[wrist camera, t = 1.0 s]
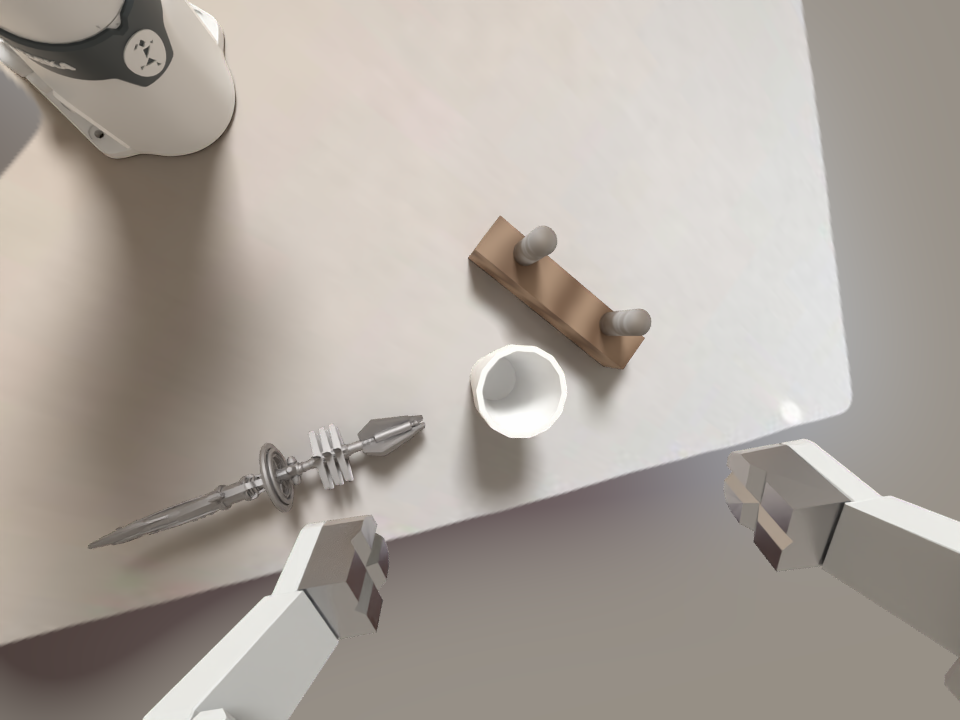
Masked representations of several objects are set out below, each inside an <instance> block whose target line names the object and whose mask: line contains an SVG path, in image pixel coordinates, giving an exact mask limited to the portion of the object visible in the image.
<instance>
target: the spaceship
mask: <svg viewBox="0 0 960 720" xmlns="http://www.w3.org/2000/svg"><path fill="white" fill-rule="evenodd" d="M422 420H423V417H422V415H419V416H399V417H390V418H382V419H373V420H370V422H369V423H368V424H367V425H366V426H365V427H364V428H363V429H362V430H361V431H360V432H359V433H358V437H359V439H360V440H359V441H356V442H354V443H351V444H348V445H344V443H343V440H342V438H341V435H340V433H339V430H338V427H335V426H334V424H330V425H329V430H330V434H331V437H330V434H329V432H328V430H326V431H325V430H324V427H322V428H319V433H320V437H319V434H318V433H317V434H315V433H314V431H311V432H309V438H310V443H311V448H312V453H313V456H312V457H311V459H310V460H308V461H306V462H301V463H300V464H299V463H297V461H296V459H295V458H294V457H293V456H292V457H289V458H288V459H287V463H286V460H285V458H284V457H283V455H282V454H281V452H280V451H279V450H278V449H277V448H276V447H275V446H274V445H273V444H270V443H266V444H264V445H263V446H262V447H261V450H260V456H259V461H260V473H261V474H259V475H255V476H254V475H253V474H251V475H246V476H243V477H242V478H241V479H240V480H239V482H237V483H234V484H231V485H229V486H226V485H219V486H218V487H217V488H216V489H215V491H213V492H210V493H208V494H205V495H203V496H199V497H197V498H194V499H191V500H188V501H185V502H182V503H179V504H176V505H174V506H171V507H168V508H166V509H163V510H161V511H158V512H156V513H154V514H151V515H149V516H147V517H145V518H142V519H140V520H136V521H134V522H133V523H131V524H128V525H126V526H125V527H119V528H117V530H116V531H114V532H112V533H110V534H108V535H106V536H104V537H102V538H100V539H99V540H96V541H94V542H92V543H90V544H89V545H88V548H89V549H92V548H97V547H102V546H106V545H116V544H122V543H125V542H128V541H131V540H134V539H136V538H139V537H141V536H142V535H145V534H148V533H151V532H153V533H151V534H154V533H157V532H159V531H160V530H161V531H162V530H166V529H170V528H173V527H176V526H180V525H182V524H185V523H188V522H191V521H194V520H195V521H197V520H198V519H199V518H205V517H206V516H207V515H209V514H210V515H212V514H214V513H215V512H217V511H219V510H227V509H229V508H230V507H231V506H232V504H234V503H237V502H240V501H242V500H246V501H251V500H253V499H255V498H257V497H258V496H259V494H260V493H262V492H264V491H266V492H267V494H268V496H269V497H270V499H271V501H272V503H273V504H274V505H275V507H276V508H277V509H278V510H279V511H281V512H288V511H289V510H290V509H291V507H292V504H293V497H294V487H293V484H294V485H298V484H300V483H301V476H300V475H301V474H302V472H306V471H307V470H310V469H314V468H317V470H318V472H319V475H320V478H321V480H322V483H323V486H324V488H325V489H328V488H329V490H330V489H333V488H334V484H333V480H334V483H335V485H338V484H339V486H340V485H342V484H344V481H343V477H342V473H343V476H344V478H345V481H349V482H350V481H352V480H354V479H353V475H352V471H351V466H350V462H349V458H348V457H349V456H351V454H353V453H355V452H358V451H361V450H363V453H366V455H376V456H386V455H387V454H389V453H390V452H392V451H393V450H395V449H396V448H398V447H399V446H401V445H402V444H404V443H405V442H406V441H408V440H409V439H411V438H412V437H414V435H415V434H416V433H418V432H419V431H421V430H422V429H423V428H425V423H419V422H421V421H422ZM320 438H321V439H320ZM331 438H332V440H331ZM267 451H268V452H267ZM341 470H342V473H341ZM259 477H260V478H259ZM332 478H333V480H332ZM263 488H264V489H263ZM151 534H149V535H151ZM89 546H90V547H89Z"/></svg>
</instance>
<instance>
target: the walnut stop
mask: <svg viewBox="0 0 960 720" xmlns="http://www.w3.org/2000/svg"><path fill="white" fill-rule="evenodd" d="M556 245H557V237H556V234H555V232H554V231H553V230H552V229H551V228H549V227H547V226H539V227H537V228H535V229H534V230H533V231H531V232H530V233H529V234H528V235H527V236H524V235H523V234H521V233H520V232H519V231H518V230H517V229H516V228H514V227H513V226H512V225H511V224H510V223H508V222H507V221H506V220H505V219H504V218H503V217H501V216H499V218H498V219H497V220H496V221H495V223H494V224H493V225H492V227H491V228H490V229H489V231H488V232H487V233H486V235H485V236H484V237H483V239H482V240H481V241H480V243H479V244H478V245H477V247H476V248H475V249H474V251H473V252H472V253H471V255H470V256H469V257H468V258H469V259H470V260H471V261H472V262H474V263H475V264H476V265H477V266H479V267H480V268H481V269H482V270H484V271H485V272H486V273H487V274H489V275H490V276H491V277H492V278H494V279H495V280H496V281H497V282H499V283H500V284H501V285H502V286H504V287H505V288H506V289H507V290H509V291H510V292H511V293H512V294H514V295H515V296H516V297H517V298H519V299H520V300H521V301H522V302H524V303H525V304H526V305H527V306H529V307H530V308H531V309H532V310H534V311H535V312H536V313H537V314H539V315H540V316H541V317H542V318H544V319H545V320H546V321H547V322H549V323H550V324H551V325H552V326H553V327H555V328H556V329H557V330H558V331H560V332H561V333H562V334H563V335H565V336H566V337H567V338H568V339H570V340H571V341H572V342H573V343H575V344H576V345H577V346H578V347H580V348H581V349H582V350H583V351H585V352H586V353H587V354H588V355H590V356H591V357H592V358H593V359H595V360H596V361H597V362H598V363H600V364H601V365H602V366H604V367H611V368H617V369H624V367H625V366H626V364H627V363H628V362H629V360H630V359H631V357H632V356H633V354H634V353H635V352H636V350H637V349H638V347H639V346H640V344H641V343H642V341H643V340H644V339H645V338H644V337H643V336H642V335H644V334H646V333H647V332H648V331H649V329H650V326H651V318H650V315H649V314H648V312H647V311H645V310H643V309H632V310H623V311H615V312H613V311H612V310H611V309H610V308H609V307H608V306H606V305H605V304H604V303H603V302H602V301H601V300H599V299H598V298H597V297H596V296H595V295H593V294H592V293H591V292H590V291H589V290H588V289H586V288H585V287H584V286H583V285H582V284H580V283H579V282H578V281H577V280H576V279H575V278H573V277H572V276H571V275H570V274H569V273H567V272H566V271H565V270H564V269H563V268H562V267H560V266H559V265H558V264H557V263H556V262H554V261H553V260H552V259H551V258H550V257H549V256H547V255H549V254H551V253H552V252H553V251H554V250H555V248H556Z"/></svg>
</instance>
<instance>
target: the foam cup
mask: <svg viewBox="0 0 960 720" xmlns="http://www.w3.org/2000/svg"><path fill="white" fill-rule="evenodd" d="M470 381H471V387H472V391H473V397H474V403H475V408H476V409H477V410H478V412H479V413H480V414H481V416H482V417H483V419H484V420H485V421H486V423H487V424H488V425H489V426H490V427H491V428H492V429H494V430H496V431H497V432H499V433H501V434H503V435H505V436H507V437H509V438H531V437H533V436H535V435H537V434H539V433H541V432H543V431H546V430H548V429H549V428H550V427H551V425H552V424H553V423H554V422H555V421H556V419H557V418H558V417H559V416H560V415H561V414H562V410H563V407H564V403H565V400H566V397H567V387H566V380H565V373H564V372H563V370H562V369H561V367H560V366H559V364H558V363H557V361H556V360H555V358H554V357H553V356H552V355H550V354H548V353H547V352H545V351H543V350H542V349H540V348H538V347H536V346H527V345H507V346H505V347H502V348H500V349H498V350H495V351H493V352H491V353H490V354H489V355H486V356H484V357H482V358H480V359H479V360H478V361H477V362H476V363H475V365H474V366H473V368H472V371H471V375H470Z"/></svg>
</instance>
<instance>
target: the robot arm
mask: <svg viewBox="0 0 960 720" xmlns="http://www.w3.org/2000/svg"><path fill="white" fill-rule="evenodd" d="M223 52H224V35H223V30H222V27H221V26H220V24H219V23H218V22H217V20H216V19H215V18H214V17H213V16H212V15H210V14H209V13H207V12H205V11H203V10H202V9H200V8H198V7H197V6H195V5H193V4H191V3H190V2H188V1H187V0H0V61H1V62H2V63H4V64H5V65H6V66H7V67H9V68H10V69H11V70H13V71H14V72H15V73H17V74H18V75H20V76H22V77H24V76H25V77H26V78H27V79H28V80H29V81H30V82H31V83H32V84H33V85H34V86H35V87H36V88H37V89H38V90H39V91H40V92H41V93H42V94H43V95H44V96H45V97H46V98H47V99H48V100H49V101H50V102H51V103H52V104H53V105H54V106H55V107H56V108H57V109H58V110H59V111H60V112H61V113H62V114H63V115H64V116H65V117H66V118H67V119H68V120H69V121H70V122H71V123H72V124H73V125H74V126H75V127H76V128H77V129H78V130H79V131H80V132H81V133H82V134H83V135H84V136H85V137H86V138H87V139H88V140H89V141H90V142H91V143H92V144H93V145H94V146H95V147H96V148H97V149H99V150H100V151H101V152H102V153H104V154H105V155H106V156H108V157H110V158H115V159H119V158H125V157H130V156H134V155H137V154H154V155H162V156H180V155H186V154H191V153H194V152H197V151H199V150H202V149H204V148H205V147H207V146H209V145H210V144H212V143H213V142H214V141H216V140H217V139H218V138H219V137H220V136H221V135H222V133H223V132H224V131H225V129H226V128H227V126H228V124H229V122H230V120H231V118H232V114H233V111H234V105H235V89H234V83H233V79H232V76H231V73H230V71H229V68H228V66H227V63H226V61H225V58H224V53H223ZM102 133H104V136H103V138H100V135H101V134H102ZM727 466H728V468H729V469H730V470H731V471H732V472H731V474H730V475H729V476H728V477H727V478H726V479H725V480H724V495H725V499H726V502H727V505H728V507H729V509H730V510H731V512H732V514H733V515H734V517H735V518H736V519H737V521H738V522H739V523H740V524H741V525H743V526H745V527H747V528H749V529H750V530H752V531H754V543H755V545H756V546H757V547H758V548H759V550H760V551H761V552H762V554H763V555H764V556H765V557H766V559H767V560H768V561H769V563H770V564H771V565H772V567H773V568H774V569H775V570H776V571H777V572H778V571H787V570H794V569H802V568H811V567H818V566H822V569H823V570H825V571H826V572H828V573H829V574H831V575H832V576H834V577H835V578H837V579H838V580H840V581H842V582H843V583H845V584H846V585H848V586H849V587H851V588H852V589H854V590H856V591H857V592H859V593H860V594H862V595H863V596H865V597H866V598H868V599H869V600H871V601H873V602H874V603H876V604H877V605H879V606H880V607H882V608H883V609H885V610H887V611H888V612H890V613H891V614H893V615H894V616H896V617H897V618H899V619H901V620H902V621H904V622H905V623H907V624H908V625H910V626H911V627H913V628H915V629H916V630H918V631H919V632H921V633H922V634H924V635H925V636H927V637H929V638H930V639H932V640H933V641H935V642H936V643H938V644H939V645H941V646H943V647H944V648H946V649H947V650H949V651H950V652H952V653H953V654H955V655H956V656H958V659H957V660H956V661H955V662H954V664H953V665H952V666H951V668H950V669H949V670H948V672H947V673H946V674H945V682H944V684H945V686H946V687H947V688H948V689H949V690H950V691H951V693H952V694H953V695H954V696H955V697H956V698H957V699H958V700H959V701H960V522H958V521H956V520H953V519H951V518H948V517H945V516H943V515H940V514H938V513H935V512H932V511H930V510H927V509H925V508H922V507H919V506H917V505H914V504H911V503H909V502H906V501H904V500H901V499H898V498H896V497H893V496H886V497H882V496H881V495H879V494H878V493H877V492H876V491H874V490H873V489H872V488H871V487H869V486H868V485H867V484H866V483H864V482H863V481H862V480H861V479H859V478H858V477H857V476H856V475H854V474H853V473H852V472H851V471H849V470H848V469H847V468H845V467H844V466H843V465H842V464H840V463H839V462H838V461H836V460H835V459H834V458H833V457H832V456H830V455H829V454H828V453H827V452H825V451H824V450H823V449H822V448H820V447H819V446H818V445H817V444H815V443H814V442H812V441H809V440H807V439H801V440H795V441H790V442H784V443H779V444H772V445H767V446H761V447H756V448H750V449H744V450H739V451H734V452H731V453H730V455H729V456H728V459H727ZM376 528H377V523H376V521H375V520H374V518H373V516H372V515H364V516H357V517H350V518H343V519H336V520H329V521H324V522H318V523H311V524H307V525H306V526H305V527H304V528H303V529H302V530H301V531H300V533H299V535H298V538H297V540H296V542H295V544H294V546H293V549H292V551H291V553H290V555H289V558H288V560H287V562H286V564H285V566H284V569H283V571H282V573H281V575H280V578H279V580H278V582H277V584H276V586H275V588H274V591H273V593H272V595H270V596H265V597H264V598H263V599H262V600H261V601H260V602H259V603H258V604H257V605H256V606H255V607H254V608H253V609H252V610H251V611H250V612H249V613H248V614H247V615H246V616H245V617H244V618H243V619H242V620H241V621H240V622H239V623H238V624H237V625H236V626H235V627H234V628H233V629H232V630H231V631H230V632H229V633H228V634H227V635H226V636H225V637H224V638H223V639H222V640H221V641H220V642H219V643H218V644H217V645H216V646H215V647H214V648H213V649H212V650H211V651H210V652H209V653H208V654H207V655H206V656H205V657H204V658H203V659H202V660H201V661H200V662H199V663H198V664H197V665H196V666H195V667H194V668H193V669H192V670H191V671H190V672H189V673H188V674H187V675H185V677H183V679H182V680H180V682H178V683H177V684H176V686H174V688H172V689H171V690H170V691H169V693H167V694H166V695H165V696H164V697H163V698H162V699H161V701H159V703H158V704H156V705H155V707H153V708H152V709H151V710H150V711H149V712H148V713H147V714H146V715H145V716H144V718H143V720H288V719H289V718H290V716H291V714H292V713H293V711H294V710H295V708H296V707H297V705H298V704H299V702H300V701H301V699H302V698H303V696H304V695H305V693H306V691H307V690H308V689H309V687H310V686H311V684H312V683H313V681H314V679H315V678H316V676H317V675H318V673H319V672H320V670H321V669H322V667H323V665H324V664H325V663H326V661H327V660H328V658H329V657H330V655H331V654H332V652H333V650H334V649H335V647H336V646H337V644H338V643H339V641H338V640H339V639H344V638H350V637H355V636H360V635H365V634H371V633H376V632H377V628H378V623H379V617H380V613H381V608H382V603H383V599H382V597H381V596H380V594H379V592H378V591H379V589H380V588H381V587H382V585H383V584H384V583H385V582H386V580H387V575H388V569H389V553H388V548H387V544H386V542H385V540H384V538H383V537H382V536H380V535H378V534H377V533H375V532H376Z"/></svg>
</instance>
